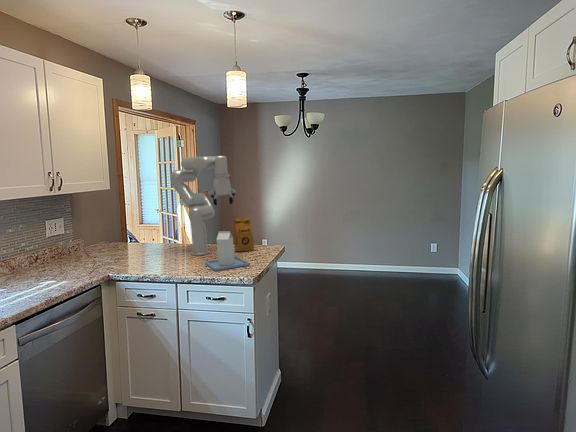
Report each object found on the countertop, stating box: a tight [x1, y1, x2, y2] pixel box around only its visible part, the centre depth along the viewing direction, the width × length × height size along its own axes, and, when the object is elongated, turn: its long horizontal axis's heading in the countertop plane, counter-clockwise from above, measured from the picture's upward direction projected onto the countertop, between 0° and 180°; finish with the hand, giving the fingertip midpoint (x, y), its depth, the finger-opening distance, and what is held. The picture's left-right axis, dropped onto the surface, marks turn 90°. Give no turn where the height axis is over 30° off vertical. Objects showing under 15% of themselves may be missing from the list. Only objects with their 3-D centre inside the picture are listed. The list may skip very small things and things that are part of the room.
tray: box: [204, 256, 251, 272], centre depth 223 cm, size 20×20×2 cm
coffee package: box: [233, 217, 255, 253], centre depth 261 cm, size 10×12×22 cm
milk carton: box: [216, 230, 235, 265], centre depth 223 cm, size 7×7×19 cm
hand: (223, 204), depth 238 cm, fingers open, 9 cm apart
